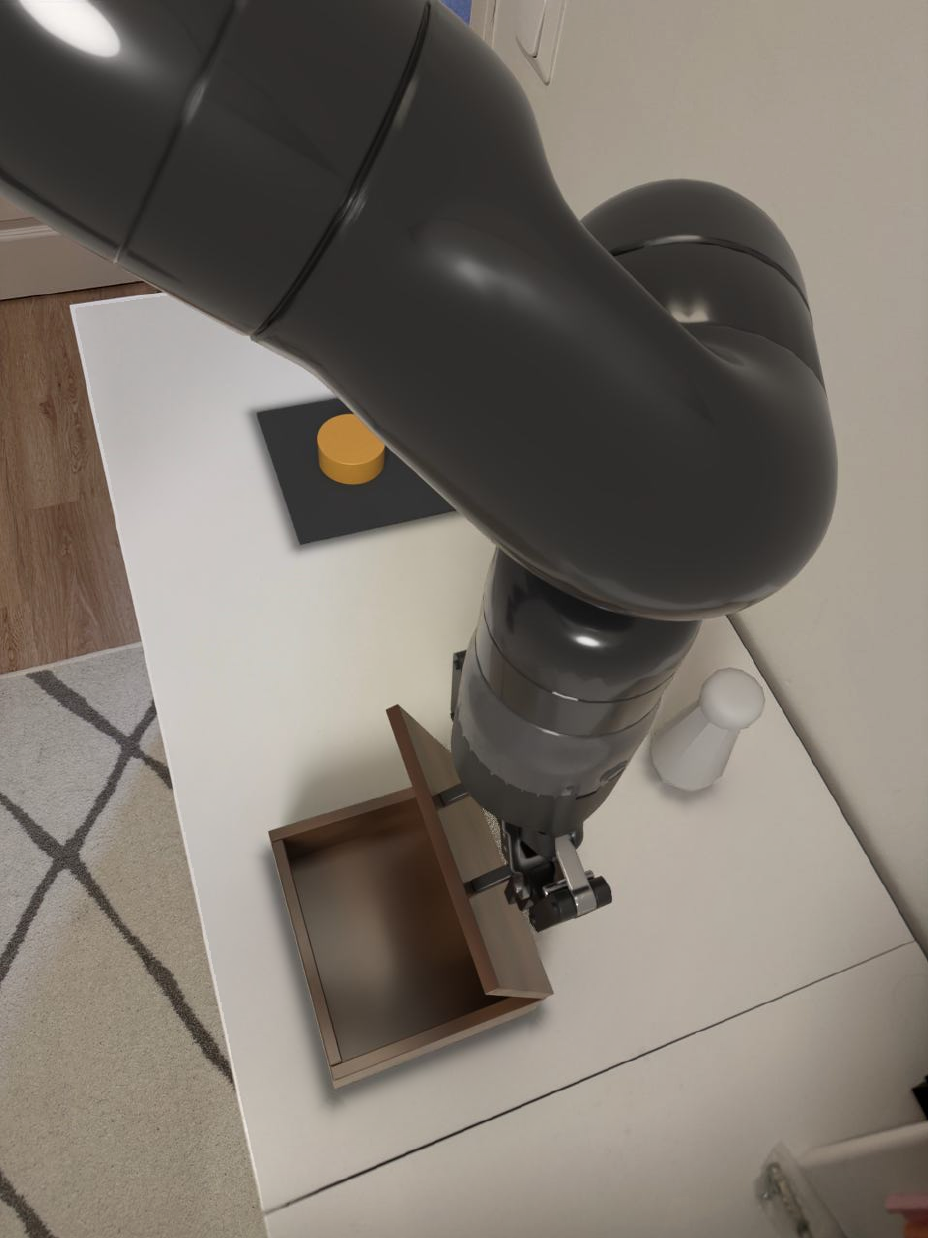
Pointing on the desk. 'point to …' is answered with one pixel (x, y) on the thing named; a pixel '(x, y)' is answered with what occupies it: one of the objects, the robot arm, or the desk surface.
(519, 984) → the lid
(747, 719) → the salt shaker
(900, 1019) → the desk surface
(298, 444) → the mat
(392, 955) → the wooden box
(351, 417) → the golden round puck
